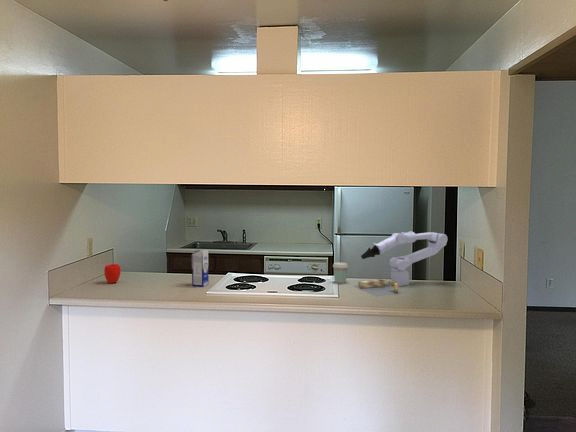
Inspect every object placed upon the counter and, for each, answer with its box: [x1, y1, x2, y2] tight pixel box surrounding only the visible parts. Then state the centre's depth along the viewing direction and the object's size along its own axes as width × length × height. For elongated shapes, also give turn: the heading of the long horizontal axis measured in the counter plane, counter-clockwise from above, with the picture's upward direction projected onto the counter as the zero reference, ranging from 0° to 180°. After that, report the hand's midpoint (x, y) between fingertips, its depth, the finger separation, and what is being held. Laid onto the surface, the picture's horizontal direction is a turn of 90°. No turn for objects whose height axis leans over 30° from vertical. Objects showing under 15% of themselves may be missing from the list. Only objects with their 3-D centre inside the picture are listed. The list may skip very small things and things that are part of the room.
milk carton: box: [191, 249, 210, 288], centre depth 251 cm, size 7×7×20 cm
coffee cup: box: [332, 261, 349, 285], centre depth 255 cm, size 8×8×12 cm
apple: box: [103, 263, 122, 284], centre depth 257 cm, size 9×9×11 cm
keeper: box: [388, 280, 399, 295], centre depth 233 cm, size 6×2×5 cm, turn 15°
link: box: [357, 279, 387, 288], centre depth 244 cm, size 16×4×3 cm, turn 110°
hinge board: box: [353, 285, 407, 297], centre depth 239 cm, size 18×24×1 cm
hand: (363, 256), depth 244 cm, fingers open, 7 cm apart
